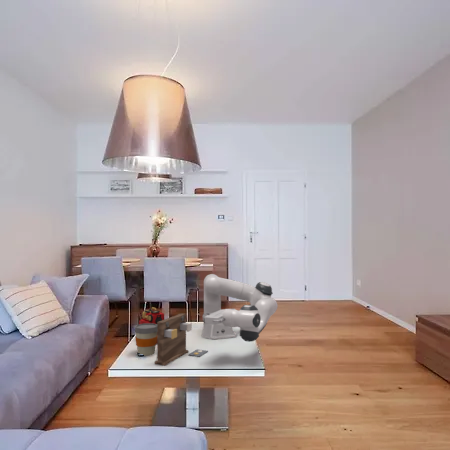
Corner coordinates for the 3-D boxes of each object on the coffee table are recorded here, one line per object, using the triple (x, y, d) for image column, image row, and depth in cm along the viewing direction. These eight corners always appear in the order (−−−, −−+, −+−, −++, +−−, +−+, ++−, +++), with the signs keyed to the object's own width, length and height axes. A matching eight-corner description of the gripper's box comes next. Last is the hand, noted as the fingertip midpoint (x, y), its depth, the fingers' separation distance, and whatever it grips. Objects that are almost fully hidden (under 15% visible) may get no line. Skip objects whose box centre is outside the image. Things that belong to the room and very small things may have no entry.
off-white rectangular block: (191, 330, 197) (191, 322, 198) (188, 331, 194) (188, 324, 194) (180, 328, 201) (180, 321, 201) (176, 330, 197) (176, 322, 197)
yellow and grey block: (177, 336, 184) (177, 329, 184) (172, 338, 180) (172, 330, 180) (164, 335, 187) (164, 327, 187) (160, 337, 183) (160, 329, 183)
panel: (188, 352, 200) (188, 314, 201) (164, 365, 179) (164, 323, 180) (179, 351, 203) (179, 313, 203) (154, 364, 182) (154, 321, 182)
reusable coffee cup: (143, 348, 207) (143, 322, 207) (162, 351, 202) (162, 324, 203) (129, 355, 195) (130, 327, 196) (149, 358, 191) (149, 329, 191)
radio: (138, 340, 224) (138, 308, 224) (152, 337, 230) (152, 306, 231) (150, 346, 212) (150, 311, 212) (165, 343, 218) (165, 309, 219)
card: (208, 351, 201) (208, 350, 201) (199, 357, 192) (199, 355, 192) (196, 350, 204) (196, 348, 204) (188, 355, 195) (188, 353, 195)
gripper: (220, 328, 177) (195, 325, 183) (236, 319, 196) (213, 317, 201) (220, 315, 177) (195, 313, 183) (236, 308, 196) (213, 306, 202)
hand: (204, 315), depth 192 cm, fingers open, 2 cm apart
